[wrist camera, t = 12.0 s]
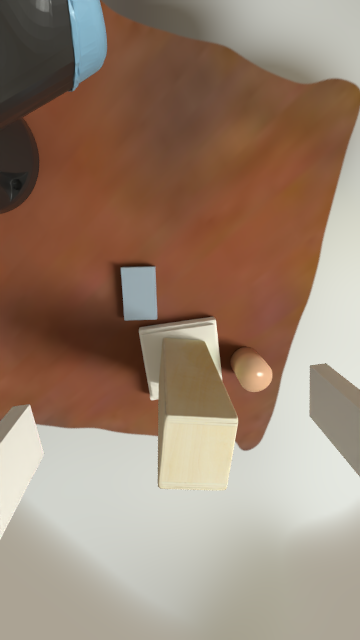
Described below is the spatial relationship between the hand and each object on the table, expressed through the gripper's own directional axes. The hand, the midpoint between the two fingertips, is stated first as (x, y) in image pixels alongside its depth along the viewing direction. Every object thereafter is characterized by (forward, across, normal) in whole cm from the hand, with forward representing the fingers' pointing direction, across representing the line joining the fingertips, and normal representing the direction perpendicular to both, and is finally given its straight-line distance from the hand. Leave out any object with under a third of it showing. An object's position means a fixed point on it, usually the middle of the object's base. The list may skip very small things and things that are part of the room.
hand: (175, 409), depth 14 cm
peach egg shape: (+34, +12, -14) cm, 38 cm away
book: (+35, -4, 0) cm, 35 cm away
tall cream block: (+31, +2, -12) cm, 33 cm away
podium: (+34, +1, -12) cm, 36 cm away
